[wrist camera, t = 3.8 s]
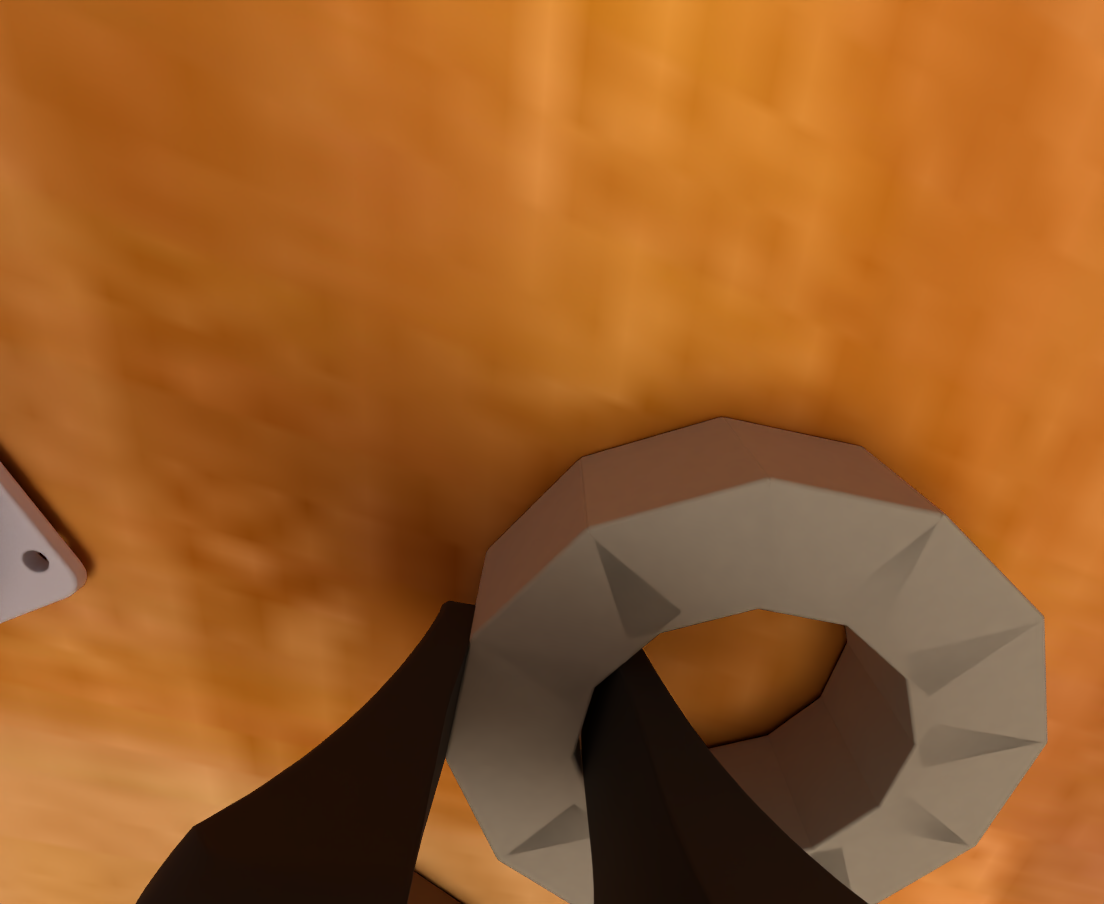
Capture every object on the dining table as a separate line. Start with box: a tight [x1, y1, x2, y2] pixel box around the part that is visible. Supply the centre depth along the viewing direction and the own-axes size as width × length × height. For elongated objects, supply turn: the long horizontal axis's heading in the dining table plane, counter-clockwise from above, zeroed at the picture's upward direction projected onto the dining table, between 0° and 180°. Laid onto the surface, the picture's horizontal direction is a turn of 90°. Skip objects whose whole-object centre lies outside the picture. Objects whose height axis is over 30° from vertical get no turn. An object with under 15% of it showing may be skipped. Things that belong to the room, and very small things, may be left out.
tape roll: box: [446, 417, 1047, 904], centre depth 13 cm, size 11×11×3 cm
